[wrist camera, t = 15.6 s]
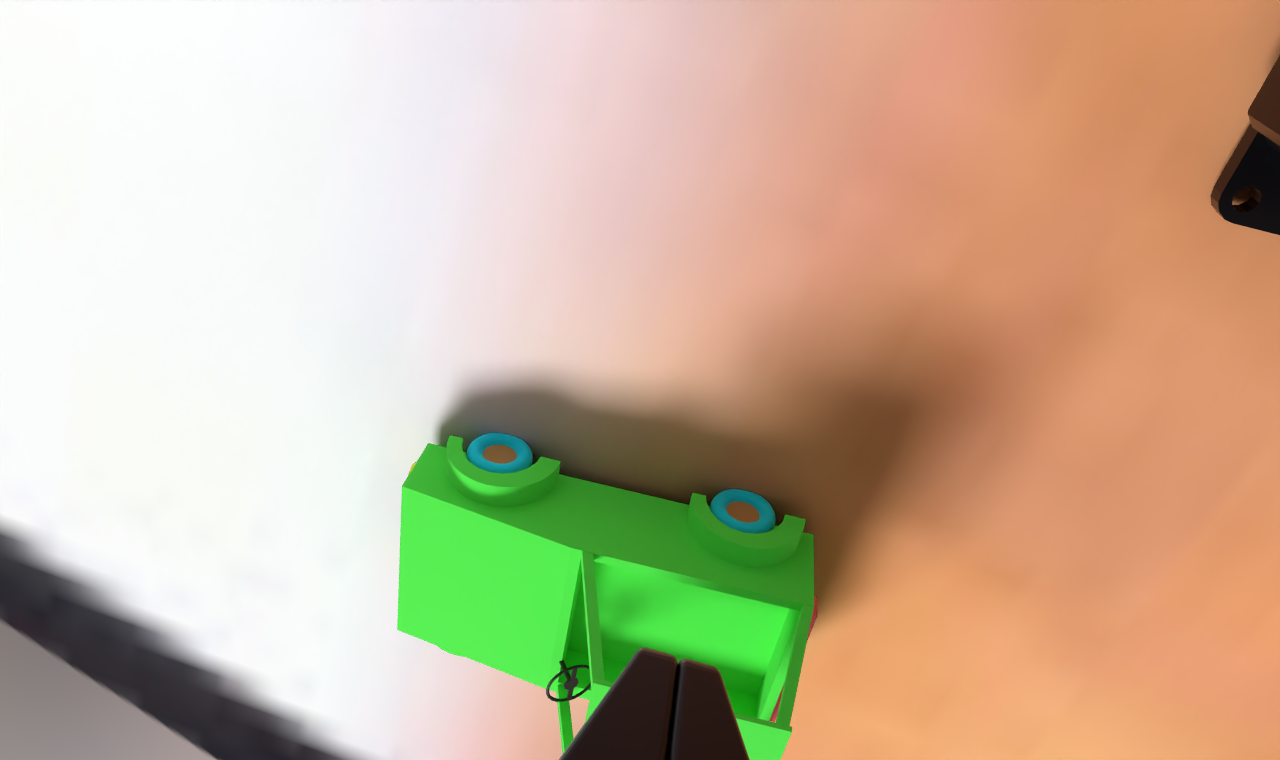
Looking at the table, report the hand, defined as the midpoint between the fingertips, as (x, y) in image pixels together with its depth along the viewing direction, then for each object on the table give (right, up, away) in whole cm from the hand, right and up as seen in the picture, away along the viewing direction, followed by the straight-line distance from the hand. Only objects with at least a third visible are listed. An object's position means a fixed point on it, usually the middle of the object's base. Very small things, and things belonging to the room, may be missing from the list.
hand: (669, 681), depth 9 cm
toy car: (-1, -2, +17) cm, 17 cm away
